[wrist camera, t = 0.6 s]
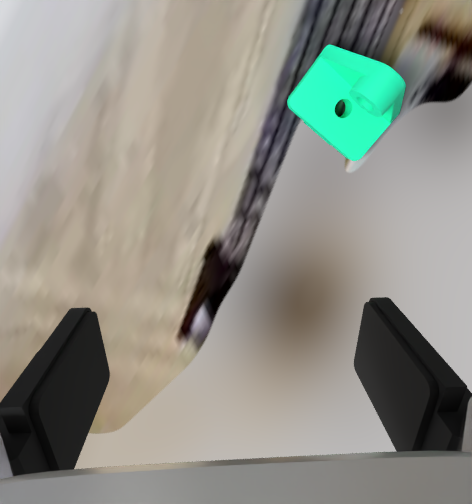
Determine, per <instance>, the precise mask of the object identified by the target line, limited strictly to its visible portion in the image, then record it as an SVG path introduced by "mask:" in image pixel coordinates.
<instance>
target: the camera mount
mask: <svg viewBox="0 0 472 504" xmlns="http://www.w3.org/2000/svg"><path fill="white" fill-rule="evenodd" d="M405 88H406V84H405V82H404V80H403V79H402V77H401V76H400V75H399V74H398V73H397V72H396V71H395V70H394V69H392V68H391V67H389V66H388V65H386V64H384V63H382V62H379V61H376V60H373V59H370V58H367V57H365V56H362V55H359V54H356V53H353V52H350V51H347V50H344V49H342V48H339V47H336V46H333V45H330V44H329V45H328V46H326V47H325V48H324V50H323V51H322V52H321V54H320V55H319V56H318V58H317V59H316V61H315V62H314V63H313V65H312V66H311V67H310V69H309V70H308V71H307V73H306V74H305V76H304V77H303V78H302V80H301V81H300V82H299V84H298V85H297V87H296V88H295V89H294V91H293V92H292V93H291V95H290V96H289V98H288V102H287V103H288V107H289V108H290V110H292V111H293V112H294V113H295V114H296V115H297V116H299V117H300V118H301V119H302V120H303V121H304V123H305V124H306V125H307V126H308V127H310V128H311V129H312V130H313V131H314V132H315V133H317V134H318V135H319V136H320V137H321V138H322V139H324V140H325V141H326V142H327V143H328V144H329V145H332V146H333V147H334V148H335V149H337V150H338V151H339V152H340V153H341V154H342V155H343V156H345V157H346V158H347V159H350V160H352V161H357V160H359V159H361V158H362V156H363V155H364V154H365V153H366V152H367V151H368V149H369V148H370V147H371V146H372V145H373V144H374V142H375V141H376V140H377V139H378V138H379V137H380V135H381V134H382V133H383V132H384V131H385V130H386V129H387V127H388V126H389V125H390V124H391V123H392V122H393V120H394V119H395V118H396V117H397V116H398V115H399V113H400V110H401V105H402V101H403V97H404V93H405ZM339 100H342V101H343V102H344V103H345V112H344V113H343V115H342V116H340V117H338V116H337V115H336V114H335V106H336V104H337V102H338V101H339Z"/></svg>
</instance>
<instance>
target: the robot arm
mask: <svg viewBox="0 0 472 504" xmlns="http://www.w3.org/2000/svg"><path fill="white" fill-rule="evenodd" d="M354 367H355V371H356V373H357V375H358V377H359V379H360V381H361V383H362V385H363V386H364V388H365V390H366V392H367V394H368V396H369V398H370V400H371V402H372V404H373V406H374V408H375V410H376V412H377V414H378V416H379V417H380V420H381V421H382V424H383V426H384V427H385V429H386V431H387V433H388V435H389V437H390V439H391V441H392V443H393V445H394V447H395V449H396V451H397V452H374V453H352V454H332V455H311V456H291V457H273V458H272V457H271V458H252V459H234V460H215V461H199V462H182V463H181V462H180V463H163V464H146V465H130V466H114V467H99V468H86V469H74V468H75V465H76V463H77V460H78V457H79V455H80V452H81V450H82V447H83V445H84V442H85V440H86V437H87V435H88V432H89V430H90V427H91V425H92V422H93V420H94V417H95V415H96V412H97V410H98V407H99V405H100V402H101V400H102V397H103V395H104V392H105V390H106V387H107V385H108V382H109V377H110V372H109V367H108V362H107V358H106V353H105V349H104V344H103V340H102V335H101V331H100V326H99V322H98V318H97V314H96V312H92V311H91V309H90V308H71V309H70V310H69V311H68V312H67V314H66V315H65V316H64V318H63V319H62V321H61V322H60V323H59V325H58V326H57V327H56V329H55V330H54V332H53V333H52V334H51V336H50V337H49V338H48V340H47V341H46V342H45V344H44V345H43V347H42V348H41V349H40V350H39V351H38V352H37V353H36V355H35V356H34V358H33V359H32V360H31V362H30V363H29V364H28V366H27V367H26V368H25V370H24V371H23V373H22V374H21V375H20V377H19V378H18V379H17V381H16V382H15V383H14V385H13V386H12V388H11V389H10V390H9V392H8V393H7V394H6V396H5V397H4V398H3V400H2V401H1V403H0V504H472V393H471V392H470V391H469V390H468V389H467V385H466V384H465V383H464V382H463V381H462V380H461V379H460V378H459V376H458V375H457V374H456V373H455V372H454V371H453V370H452V369H451V367H450V366H449V365H448V364H447V363H446V362H445V361H444V359H443V358H442V357H441V356H440V355H439V354H438V353H437V352H436V350H435V349H434V348H433V347H432V346H431V345H430V343H429V342H428V341H427V340H426V339H425V338H424V337H423V336H422V334H421V333H420V332H419V331H418V330H417V329H416V328H415V327H414V325H413V324H412V323H411V322H410V321H409V320H408V319H407V317H406V316H405V315H404V314H403V313H402V312H401V311H400V310H399V308H398V307H397V306H396V305H395V304H394V303H393V302H392V301H391V299H389V298H386V297H385V298H371V299H370V301H369V302H366V303H365V305H364V309H363V314H362V320H361V326H360V331H359V336H358V342H357V347H356V353H355V359H354Z"/></svg>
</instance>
